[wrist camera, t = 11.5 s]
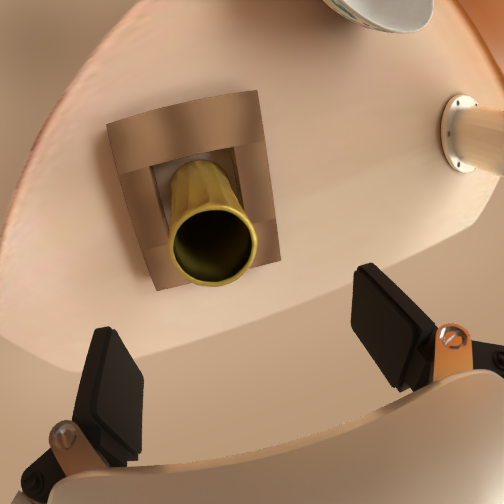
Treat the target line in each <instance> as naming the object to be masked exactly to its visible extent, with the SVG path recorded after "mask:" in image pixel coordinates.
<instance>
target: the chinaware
mask: <svg viewBox="0 0 504 504" xmlns="http://www.w3.org/2000/svg"><path fill="white" fill-rule="evenodd" d="M323 1H324V2H325V3H326V4H327V5H328V6H329V7H330V8H332V9H333V10H334V11H336V12H337V13H338V14H340V15H341V16H343V17H345V18H346V19H348V20H350V21H352V22H354V23H356V24H359V25H361V26H364V27H367V28H370V29H374V30H378V31H383V32H391V33H412V32H416V31H419V30H421V29H423V28H424V27H425V26H426V25H427V24H428V23H429V21H430V19H431V17H432V14H433V0H323Z"/></svg>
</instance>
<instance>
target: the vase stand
mask: <svg viewBox="0 0 504 504" xmlns="http://www.w3.org/2000/svg"><path fill="white" fill-rule="evenodd" d="M106 125H107V130H108V135H109V139H110V143H111V148H112V152H113V156H114V160H115V164H116V168H117V172H118V175H119V179H120V183H121V186H122V190H123V193H124V197H125V200H126V204H127V207H128V210H129V214H130V217H131V220H132V223H133V226H134V229H135V232H136V235H137V238H138V241H139V244H140V247H141V250H142V253H143V256H144V259H145V261H146V264H147V267H148V270H149V272H150V275H151V278H152V280H153V283H154V286H155V288H156V291H160V290H164V289H168V288H172V287H176V286H181V285H185V284H189V283H192V282H190V281H189V280H187V279H186V278H184V277H183V276H182V275H181V274H180V273H179V272H178V271H177V269H176V268H175V266H174V265H173V263H172V261H171V258H170V255H169V250H168V241H169V227H168V224H167V220H166V217H165V213H164V209H163V206H162V202H161V198H160V194H159V191H158V187H157V183H156V179H155V175H154V171H153V167H152V165H156V164H159V163H163V162H167V161H171V160H175V159H179V158H183V157H187V156H191V155H196V154H200V153H205V152H209V151H214V150H219V149H224V148H229V147H230V149H231V155H232V160H233V166H234V172H235V177H236V183H237V188H238V194H239V200H240V205H241V207H242V209H243V210H244V212H245V214H246V215H247V217H248V219H249V220H250V222H251V224H252V225H253V227H254V230H255V232H256V235H257V239H258V246H257V251H256V255H255V258H254V261H253V263H252V264H251V266H250V267H249V268H248V269H250V268H254V267H258V266H262V265H265V264H269V263H273V262H277V261H281V256H280V248H279V240H278V232H277V224H276V216H275V208H274V201H273V193H272V186H271V179H270V172H269V164H268V157H267V151H266V144H265V137H264V130H263V124H262V117H261V111H260V105H259V99H258V92H257V90H255V91H247V92H240V93H233V94H227V95H221V96H215V97H209V98H204V99H199V100H194V101H189V102H185V103H180V104H176V105H172V106H168V107H164V108H160V109H156V110H152V111H149V112H145V113H141V114H138V115H135V116H131V117H128V118H125V119H122V120H118V121H115V122H112V123H109V124H106Z"/></svg>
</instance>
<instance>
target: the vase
mask: <svg viewBox="0 0 504 504" xmlns="http://www.w3.org/2000/svg"><path fill="white" fill-rule="evenodd" d="M170 195H171V200H172V203H171V216H170V225H169V241H168V250H169V255H170V258H171V261H172V263H173V265H174V266H175V268H176V269H177V271H178V272H179V273H180V274H181V275H182V276H183V277H184V278H186V279H187V280H189V281H190V282H192V283H194V284H197V285H201V286H210V287H218V286H223V285H226V284H229V283H231V282H233V281H235V280H237V279H238V278H239V277H241V276H242V275H243V274H244V273H245V272H246V271H247V270H248V268H249V267H250V266H251V264H252V263H253V261H254V258H255V255H256V251H257V246H258V239H257V235H256V232H255V230H254V227H253V225H252V224H251V222H250V220H249V219H248V217H247V215H246V214H245V212H244V210H243V209H242V207H241V205H240V204H239V202H238V199H237V197H236V196H235V194H234V193H233V191H232V189H231V187H230V183H229V181H228V178H227V175H226V174H225V172H224V171H223V170H222V169H221V168H220V167H219V166H218V165H216V164H214V163H212V162H209V161H204V160H197V161H192V162H189V163H187V164H185V165H184V166H182V167H181V168H180V169H179V170H178V171H177V172H176V173H175V175H174V177H173V179H172V181H171V185H170Z"/></svg>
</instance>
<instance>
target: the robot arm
mask: <svg viewBox="0 0 504 504" xmlns="http://www.w3.org/2000/svg"><path fill="white" fill-rule="evenodd" d="M441 139H442V146H443V150H444V153H445V156H446V158H447V160H448V162H449V164H450V165H451V166H452V167H453V168H454V169H455V170H457V171H459V172H462V173H469V172H471V171H473V170H474V169H475V168H479V169H482V170H485V171H487V172H490V173H492V174H495V175H498V176H500V177H503V178H504V111H501V110H496V109H490V108H485V107H480V106H479V105H478V103H477V102H476V101H475V100H474V99H473V98H472V97H470V96H468V95H462V94H460V95H456V96H454V97H452V98H451V99H450V100H449V102H448V103H447V105H446V107H445V110H444V113H443V117H442V123H441ZM351 327H352V329H353V331H354V332H355V333H356V335H357V337H358V338H359V339H360V341H361V342H362V344H363V345H364V346H365V348H366V349H367V351H368V352H369V354H370V355H371V357H372V358H373V360H374V361H375V363H376V364H377V366H378V367H379V368H380V370H381V372H382V373H383V374H384V375H385V377H386V379H387V380H388V382H389V383H390V385H391V386H392V387H393V388H395V387H396V388H397V389H398V391H399V392H402V391H404V390H406V389H408V388H411V389H412V391H413V393H411V394H409V395H407V396H405V397H403V398H401V399H399V400H397V401H394V402H393V403H390V404H388V405H386V406H384V407H382V408H379V409H377V410H375V411H373V412H371V413H368V414H366V415H363V416H361V417H359V418H356V419H354V420H351V421H349V422H346V423H344V424H341V425H338V426H336V427H333V428H330V429H328V430H325V431H322V432H319V433H316V434H313V435H310V436H307V437H303V438H300V439H297V440H294V441H290V442H287V443H283V444H279V445H276V446H272V447H268V448H264V449H260V450H256V451H251V452H247V453H242V454H237V455H232V456H226V457H221V458H215V459H209V460H202V461H195V462H187V463H177V464H166V465H155V466H139V467H127V461H138V454H140V453H141V451H142V409H143V389H144V388H143V387H144V379H143V375H142V373H141V371H140V370H139V368H138V367H137V365H136V364H135V362H134V360H133V359H132V357H131V355H130V354H129V352H128V350H127V349H126V347H125V345H124V344H123V342H122V340H121V338H120V337H119V335H118V333H117V331H116V330H115V329H111V327H109V326H107V327H102V328H97V329H95V331H94V334H93V337H92V340H91V344H90V347H89V350H88V354H87V358H86V361H85V365H84V369H83V372H82V377H81V380H80V384H79V389H78V393H77V397H76V402H75V407H74V411H73V416H72V421H71V420H64V421H61V422H59V423H57V424H56V425H55V426H54V427H53V428H52V430H51V431H50V435H49V444H50V447H51V448H50V449H49V450H48V451H46V452H45V453H44V454H43V455H42V456H41V457H39V458H38V459H37V460H36V461H35V462H34V463H33V464H31V465H30V467H28V468H27V469H26V470H25V471H24V472H23V474H22V477H21V487H22V490H23V491H22V492H21V491H18V492H17V494H16V496H15V498H14V499H13V501H12V503H11V504H504V346H502V345H496V344H489V343H483V342H478V341H472V340H471V337H470V334H469V332H468V331H467V330H466V329H465V328H464V327H462V326H460V325H458V324H454V323H453V324H451V323H450V324H449V323H448V324H444V325H442V326H441V327H439V328H437V326H435V323H434V322H433V321H432V320H431V319H430V318H429V317H428V316H427V315H426V314H425V313H424V312H423V311H422V310H421V309H420V308H419V307H418V306H417V305H416V304H415V303H414V302H413V301H412V300H411V299H410V298H409V297H408V296H407V295H406V294H405V293H404V292H403V291H402V290H401V289H400V288H399V287H398V286H397V285H396V284H395V283H394V282H393V281H391V280H390V279H389V278H388V277H387V276H386V275H385V274H384V273H383V272H382V271H381V270H380V269H379V268H378V267H377V266H376V265H374V264H373V263H368V264H364V265H361V266H359V267H358V268H357V271H355V272H354V280H353V298H352V312H351Z"/></svg>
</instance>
